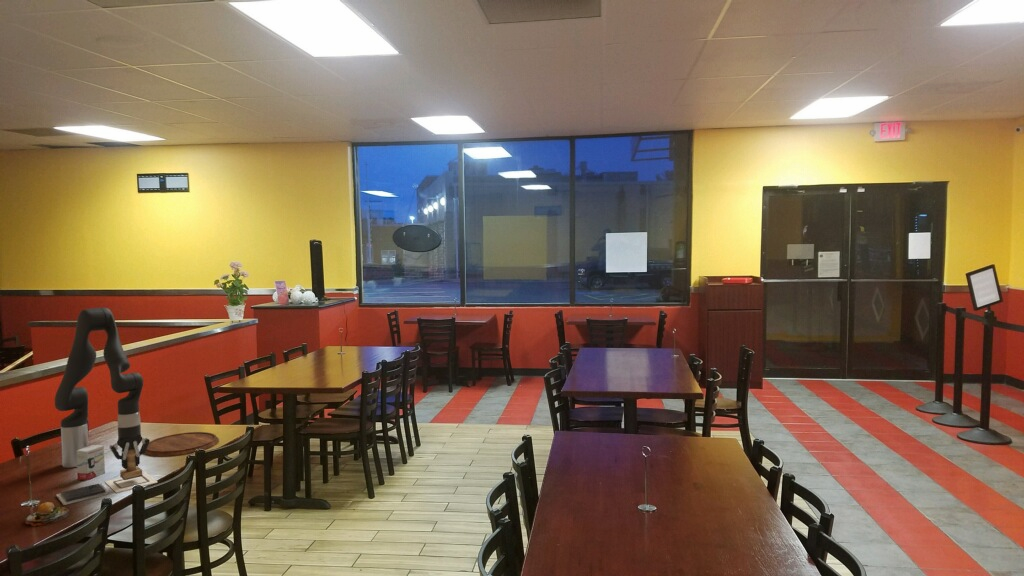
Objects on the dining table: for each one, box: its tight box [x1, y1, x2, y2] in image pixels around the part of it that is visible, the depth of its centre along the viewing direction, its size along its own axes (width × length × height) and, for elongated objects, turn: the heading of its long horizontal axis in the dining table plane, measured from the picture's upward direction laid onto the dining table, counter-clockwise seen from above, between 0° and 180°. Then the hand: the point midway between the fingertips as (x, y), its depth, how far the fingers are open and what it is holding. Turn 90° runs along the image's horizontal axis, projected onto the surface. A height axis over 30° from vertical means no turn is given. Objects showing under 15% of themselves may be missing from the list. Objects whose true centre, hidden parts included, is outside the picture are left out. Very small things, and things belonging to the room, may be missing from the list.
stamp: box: [119, 449, 143, 480], centre depth 234 cm, size 6×6×11 cm
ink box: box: [76, 444, 106, 481], centre depth 242 cm, size 9×5×12 cm, turn 168°
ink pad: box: [56, 483, 110, 506], centre depth 222 cm, size 12×14×1 cm
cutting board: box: [143, 431, 220, 458], centre depth 281 cm, size 32×32×3 cm
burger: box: [24, 501, 70, 527], centre depth 203 cm, size 12×12×8 cm
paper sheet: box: [104, 471, 159, 494], centre depth 235 cm, size 16×14×1 cm
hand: (130, 466), depth 235 cm, fingers closed on stamp, 3 cm apart
